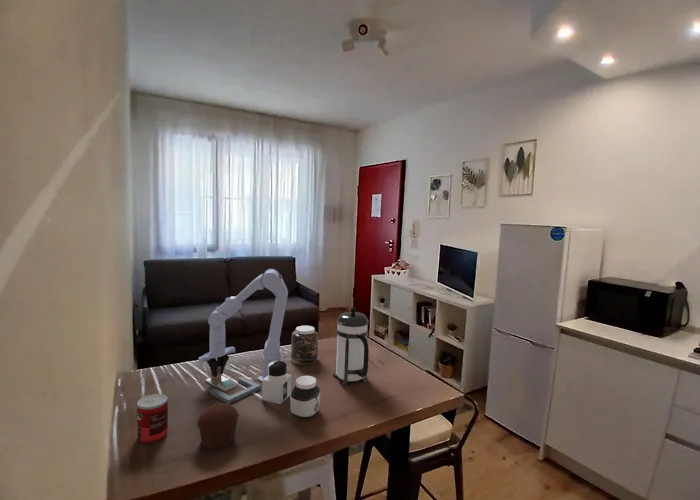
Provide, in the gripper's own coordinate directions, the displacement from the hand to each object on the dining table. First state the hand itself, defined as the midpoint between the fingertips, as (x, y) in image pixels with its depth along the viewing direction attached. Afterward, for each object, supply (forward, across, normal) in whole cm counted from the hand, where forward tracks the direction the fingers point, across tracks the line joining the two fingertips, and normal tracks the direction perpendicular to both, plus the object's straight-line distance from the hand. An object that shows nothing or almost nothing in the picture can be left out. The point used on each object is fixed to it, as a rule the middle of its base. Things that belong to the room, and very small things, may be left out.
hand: (217, 374), depth 137 cm
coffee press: (+3, -36, +39) cm, 53 cm away
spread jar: (+3, -7, +39) cm, 40 cm away
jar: (+3, -37, +11) cm, 39 cm away
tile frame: (+3, 0, +11) cm, 11 cm away
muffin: (+3, +20, +31) cm, 37 cm away
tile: (+3, 0, +6) cm, 7 cm away
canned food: (+3, +31, +15) cm, 35 cm away
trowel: (+3, 0, 0) cm, 3 cm away
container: (+3, -7, +26) cm, 27 cm away
